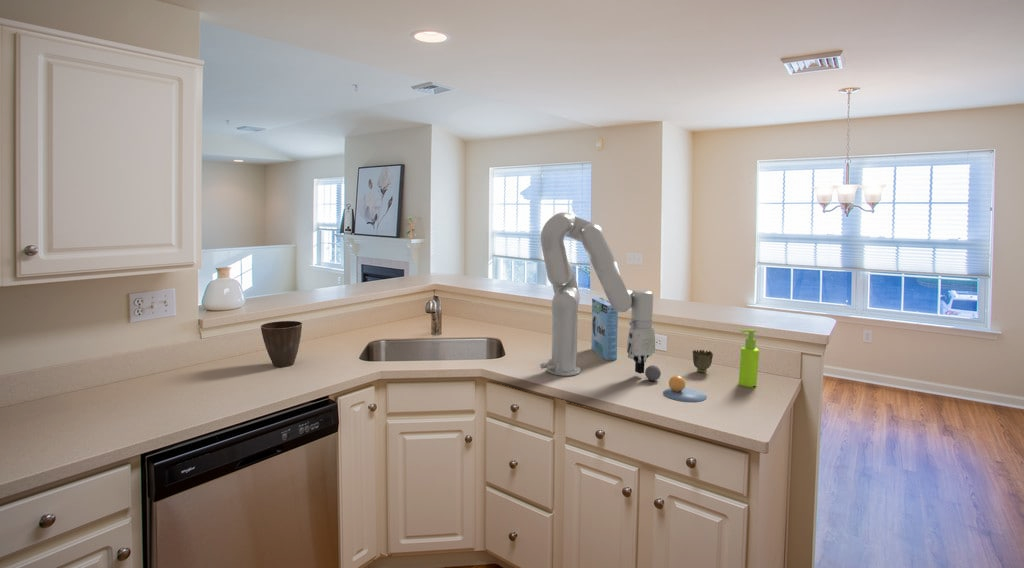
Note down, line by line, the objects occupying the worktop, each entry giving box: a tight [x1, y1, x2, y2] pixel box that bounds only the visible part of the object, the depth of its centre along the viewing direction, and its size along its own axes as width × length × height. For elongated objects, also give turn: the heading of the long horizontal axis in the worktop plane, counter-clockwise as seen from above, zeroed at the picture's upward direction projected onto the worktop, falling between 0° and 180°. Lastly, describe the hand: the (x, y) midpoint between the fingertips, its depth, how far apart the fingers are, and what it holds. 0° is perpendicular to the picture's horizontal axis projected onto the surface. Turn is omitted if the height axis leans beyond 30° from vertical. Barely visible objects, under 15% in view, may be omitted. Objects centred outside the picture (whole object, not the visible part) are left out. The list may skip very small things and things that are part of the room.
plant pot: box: [260, 320, 303, 368], centre depth 218 cm, size 15×15×16 cm
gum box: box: [591, 297, 619, 361], centre depth 237 cm, size 20×5×23 cm, turn 10°
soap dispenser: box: [738, 328, 760, 388], centre depth 198 cm, size 6×7×20 cm
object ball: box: [668, 375, 686, 392], centre depth 191 cm, size 6×6×6 cm
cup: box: [692, 349, 714, 374], centre depth 213 cm, size 8×7×8 cm
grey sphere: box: [644, 364, 662, 382], centre depth 203 cm, size 6×6×6 cm
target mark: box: [662, 387, 708, 403], centre depth 188 cm, size 14×14×1 cm
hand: (639, 372), depth 208 cm, fingers closed
